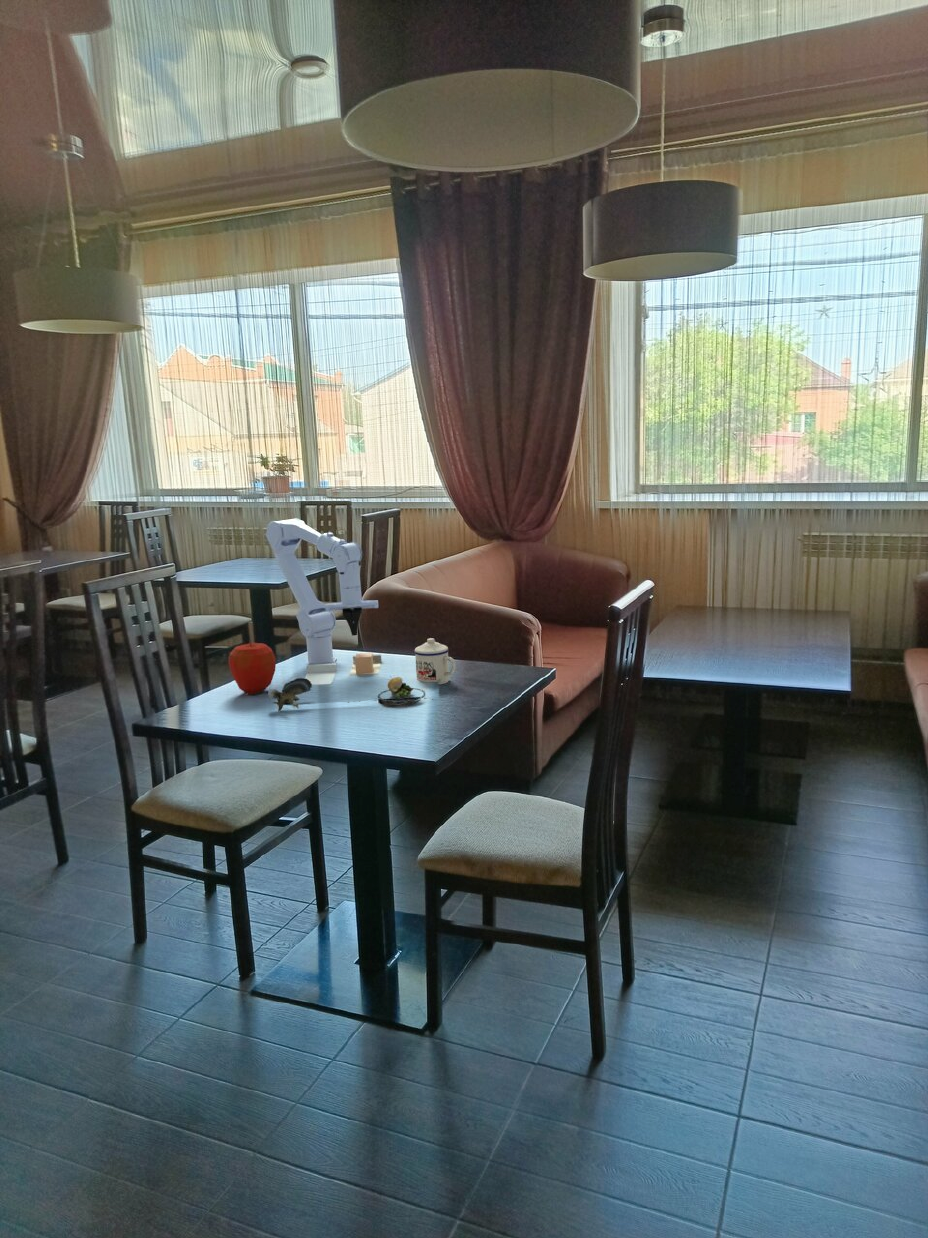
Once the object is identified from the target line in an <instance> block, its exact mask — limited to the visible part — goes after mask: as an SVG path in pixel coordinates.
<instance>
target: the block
mask: <svg viewBox="0 0 928 1238" xmlns="http://www.w3.org/2000/svg"><path fill="white" fill-rule="evenodd" d="M373 655H374V654H373V652H365V653H363V652H361V653H355V655H354V656H355V667H356V674H357V673H372V672H373V669H374V668H373Z"/></svg>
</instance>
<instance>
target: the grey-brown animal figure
mask: <svg viewBox="0 0 928 1238" xmlns="http://www.w3.org/2000/svg"><path fill="white" fill-rule="evenodd" d="M312 686H313V685H312V684H311V682H310V681H309V680H307V679H305V677H304V678H303V677H297V678H295V679H293V680H291V681H288V682H286V683H285V684H284V686H283V687H282V689H281V692H280V691H279V690H278V689H276V688H274V689H270V690H268V692H267V694H268V695H267V696H268V697H269V698H270V699H271V700H277V701H274V702H273V703H272V704H274V705H275V704H276V705H277V706H278V707H277V708H278V709H277V711H278V712H281V711H282V710H283V708H284V704H285V703H286V704H289V705H292V706H293V707H296V708H297V709H299V703H297V701H299V700H300V698H299V697H298V696H297V695H301V694H303V693H304V694H305V693H308V692H309V691H311V689H312Z"/></svg>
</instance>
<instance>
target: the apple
mask: <svg viewBox="0 0 928 1238" xmlns="http://www.w3.org/2000/svg"><path fill="white" fill-rule="evenodd" d="M248 642H249V643H245V644H241V645H237V646H235V647H234V648H233V649H232V650H231V651H230V653H229V657H228V660H227V661H228V662H227V663H228V665H229V669H230V673H231V675H232V678H233V680H234V682H235V683H236V685H237V686H238V689H239V690H241V691H242V692H243V693H244V694H246V695H252V696H253V695H258V694H260V693H262V692H264V691H265V690H266V689H267V688H268V687H269V686H270V685H271V684H272V681H273V678H274V676H275V675H274V674H275V672H276V665H277V664H276V663H277V658H276V656H275V654H274V653H275V652H274V651H273V650H272V648H271V647H270V646H268V645H267V644H265V643H262V642H261V643H259V642H251V640H249V641H248Z"/></svg>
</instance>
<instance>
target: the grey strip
mask: <svg viewBox="0 0 928 1238" xmlns="http://www.w3.org/2000/svg"><path fill="white" fill-rule="evenodd" d="M337 668H338V667H337V663H336V662H329V663H323V664H307V665H306V671H307V673H306V675H305V677H304V678H305V679H307V680H309V681H310V682H311V684H312V686H317V685H331V684H332V683H333V681H334V679H335V676H336V674H337V671H338V669H337Z"/></svg>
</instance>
